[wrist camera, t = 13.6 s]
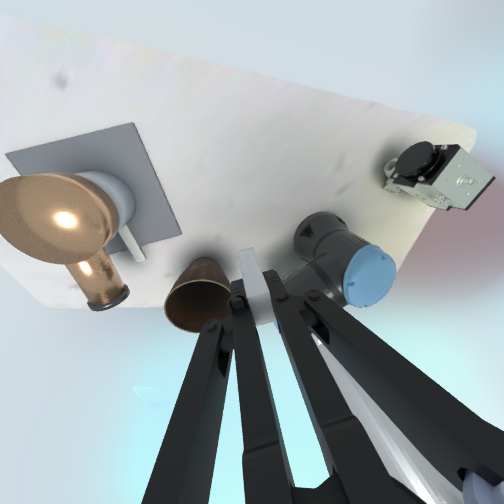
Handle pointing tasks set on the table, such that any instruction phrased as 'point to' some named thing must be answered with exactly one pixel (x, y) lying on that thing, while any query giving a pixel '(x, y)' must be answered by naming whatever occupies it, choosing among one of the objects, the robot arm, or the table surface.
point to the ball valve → (438, 175)
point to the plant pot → (198, 296)
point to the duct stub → (111, 181)
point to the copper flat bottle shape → (65, 229)
